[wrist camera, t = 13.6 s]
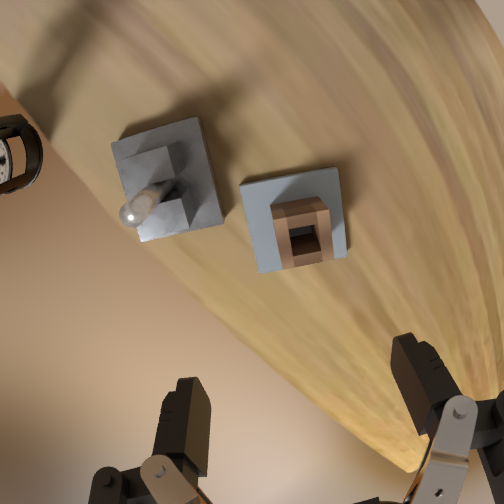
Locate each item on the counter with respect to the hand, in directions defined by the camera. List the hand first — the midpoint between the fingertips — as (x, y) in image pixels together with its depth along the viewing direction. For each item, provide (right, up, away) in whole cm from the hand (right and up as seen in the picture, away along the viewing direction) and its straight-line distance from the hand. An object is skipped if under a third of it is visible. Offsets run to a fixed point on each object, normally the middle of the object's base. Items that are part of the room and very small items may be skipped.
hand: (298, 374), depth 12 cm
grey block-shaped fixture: (-11, +13, +22) cm, 28 cm away
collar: (+3, +8, +24) cm, 25 cm away
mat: (+3, +9, +25) cm, 26 cm away
